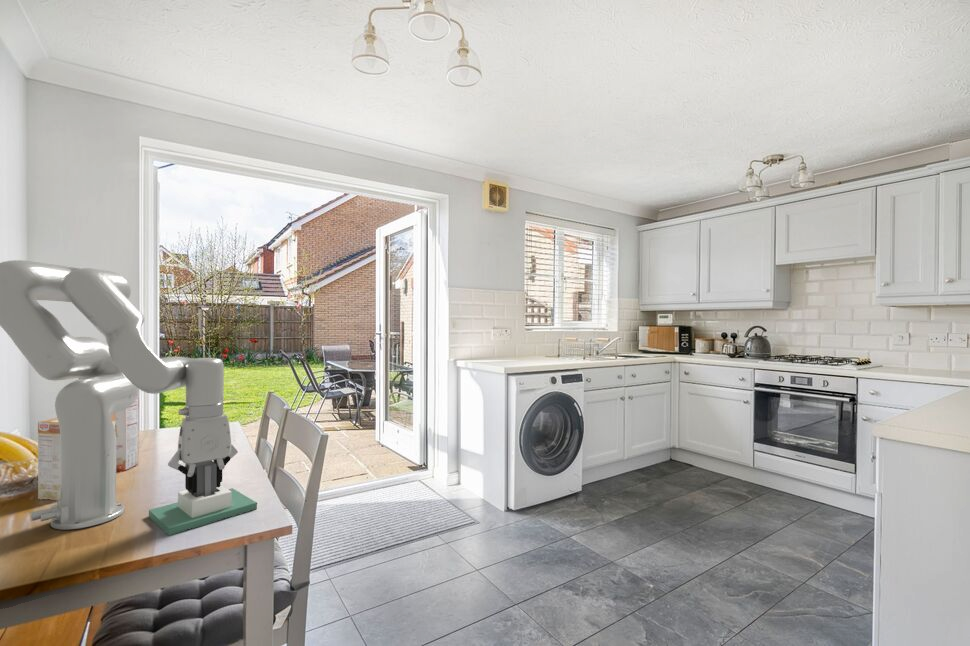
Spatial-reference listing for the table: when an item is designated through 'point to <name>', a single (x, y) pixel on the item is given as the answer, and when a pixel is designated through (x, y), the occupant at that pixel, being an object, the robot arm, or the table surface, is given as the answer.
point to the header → (204, 502)
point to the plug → (205, 479)
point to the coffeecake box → (50, 459)
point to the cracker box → (127, 437)
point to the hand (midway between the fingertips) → (204, 488)
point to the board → (179, 521)
